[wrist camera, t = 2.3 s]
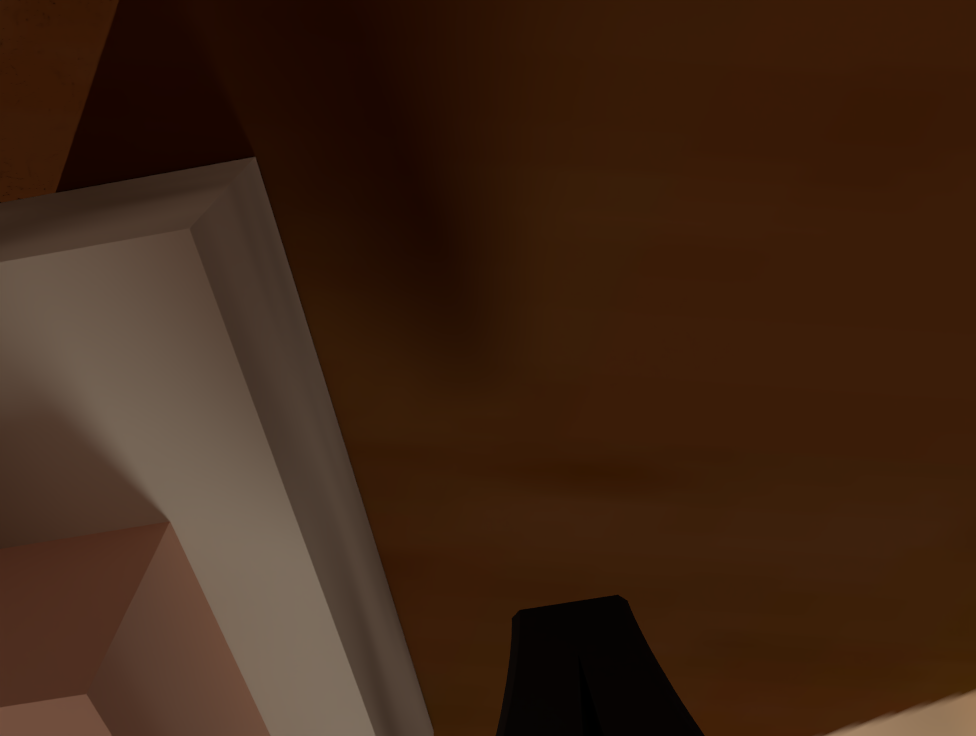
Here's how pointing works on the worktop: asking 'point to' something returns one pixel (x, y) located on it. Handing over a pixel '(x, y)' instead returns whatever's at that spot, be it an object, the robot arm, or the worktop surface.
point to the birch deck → (198, 431)
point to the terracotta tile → (115, 642)
